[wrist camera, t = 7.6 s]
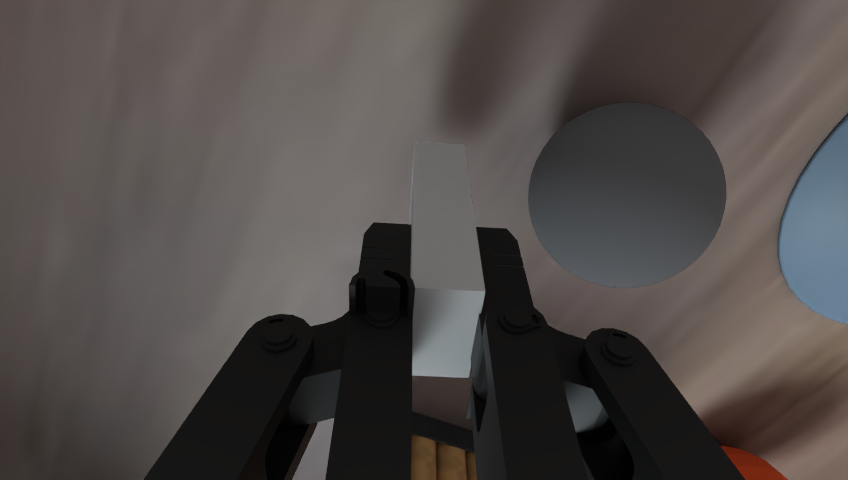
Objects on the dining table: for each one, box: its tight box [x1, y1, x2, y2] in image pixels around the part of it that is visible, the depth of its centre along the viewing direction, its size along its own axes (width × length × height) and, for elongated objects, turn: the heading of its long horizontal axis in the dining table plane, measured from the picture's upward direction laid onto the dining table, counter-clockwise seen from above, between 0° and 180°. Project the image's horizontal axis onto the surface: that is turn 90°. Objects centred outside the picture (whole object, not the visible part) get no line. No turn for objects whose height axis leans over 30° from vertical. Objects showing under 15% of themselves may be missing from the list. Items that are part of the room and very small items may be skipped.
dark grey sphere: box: [528, 102, 726, 288], centre depth 16 cm, size 6×6×6 cm
